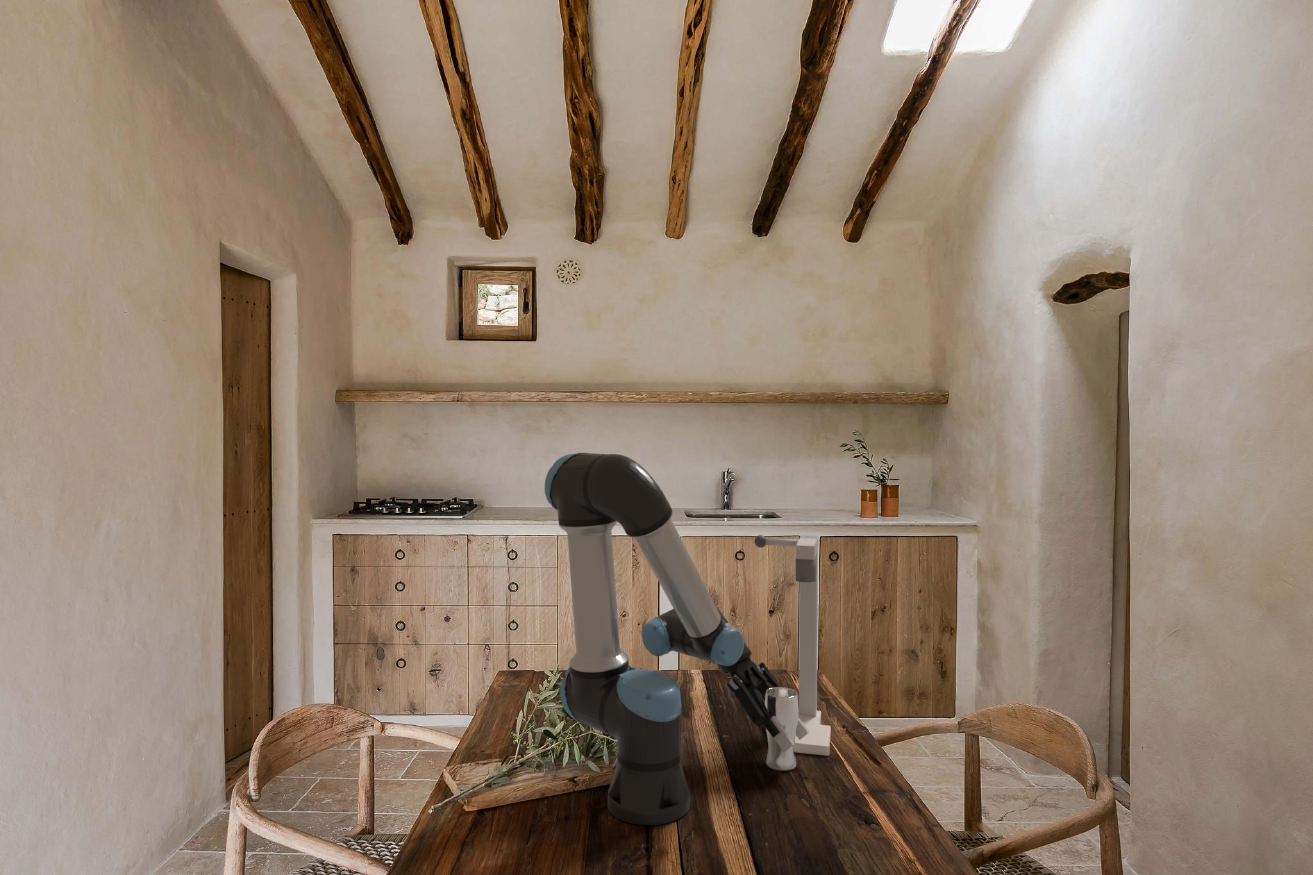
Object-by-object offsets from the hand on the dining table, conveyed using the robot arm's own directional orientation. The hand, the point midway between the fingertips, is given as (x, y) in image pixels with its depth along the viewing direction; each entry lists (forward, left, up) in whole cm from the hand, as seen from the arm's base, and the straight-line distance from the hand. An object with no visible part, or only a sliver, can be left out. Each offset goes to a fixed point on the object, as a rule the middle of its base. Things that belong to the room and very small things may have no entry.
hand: (797, 741), depth 157 cm
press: (+19, +3, -5) cm, 20 cm away
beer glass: (+1, +3, -6) cm, 7 cm away
